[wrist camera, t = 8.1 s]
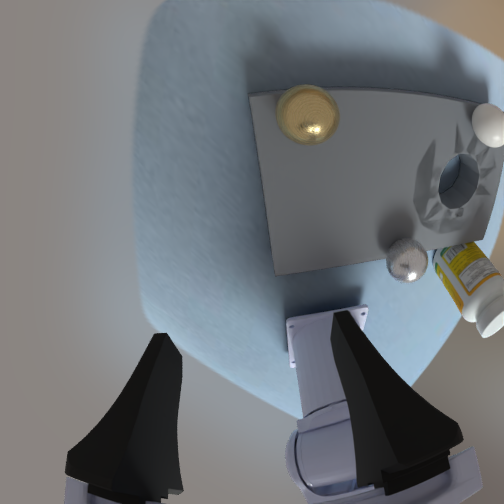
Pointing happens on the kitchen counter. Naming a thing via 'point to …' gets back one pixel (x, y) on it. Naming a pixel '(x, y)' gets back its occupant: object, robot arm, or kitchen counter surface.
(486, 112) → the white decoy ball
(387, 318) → the kitchen counter surface
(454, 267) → the supplement bottle
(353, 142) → the plate
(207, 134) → the kitchen counter surface
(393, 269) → the steel ball
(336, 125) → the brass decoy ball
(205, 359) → the kitchen counter surface
